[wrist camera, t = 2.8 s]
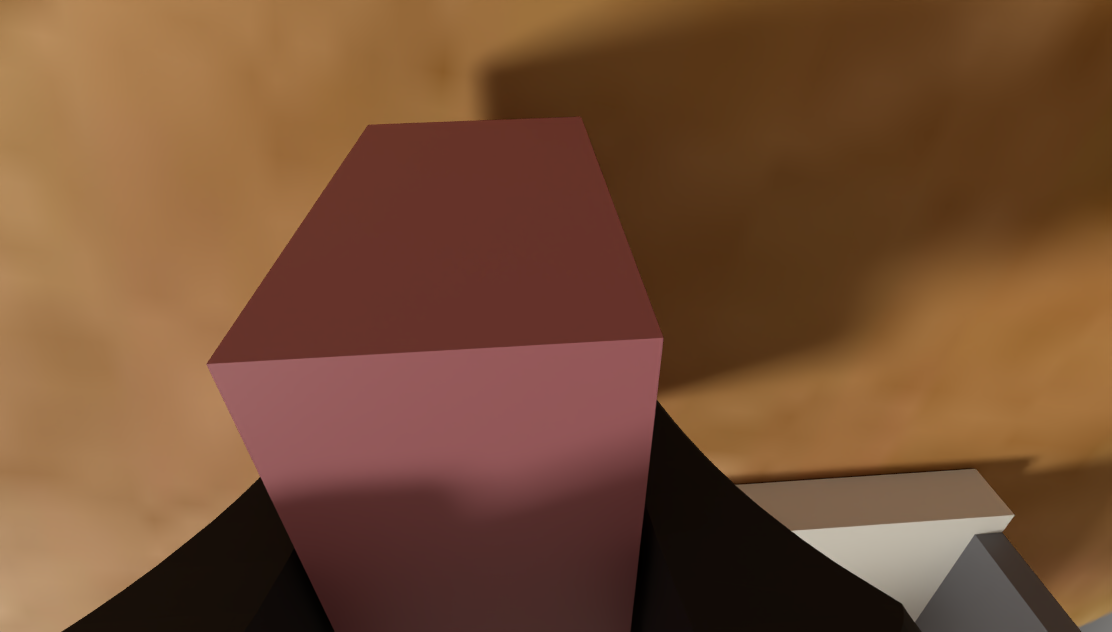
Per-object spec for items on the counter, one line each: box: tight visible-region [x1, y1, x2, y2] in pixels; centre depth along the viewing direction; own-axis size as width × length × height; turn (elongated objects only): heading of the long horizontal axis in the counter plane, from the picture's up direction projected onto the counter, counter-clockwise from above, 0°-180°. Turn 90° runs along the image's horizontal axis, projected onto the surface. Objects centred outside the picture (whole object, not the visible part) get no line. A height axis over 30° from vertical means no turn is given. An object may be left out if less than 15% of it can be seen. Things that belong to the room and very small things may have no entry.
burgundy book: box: [207, 117, 663, 632], centre depth 11 cm, size 4×10×7 cm, turn 1°
